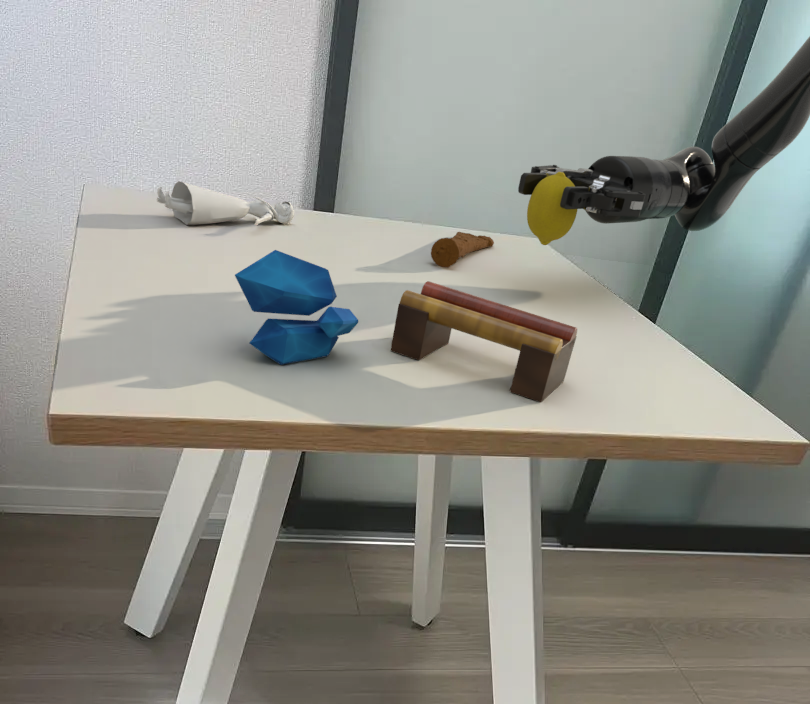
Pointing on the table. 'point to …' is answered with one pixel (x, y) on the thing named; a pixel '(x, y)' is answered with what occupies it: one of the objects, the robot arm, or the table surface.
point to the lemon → (550, 209)
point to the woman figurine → (219, 206)
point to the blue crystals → (293, 308)
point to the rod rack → (486, 334)
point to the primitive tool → (457, 247)
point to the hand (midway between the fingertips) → (543, 190)
